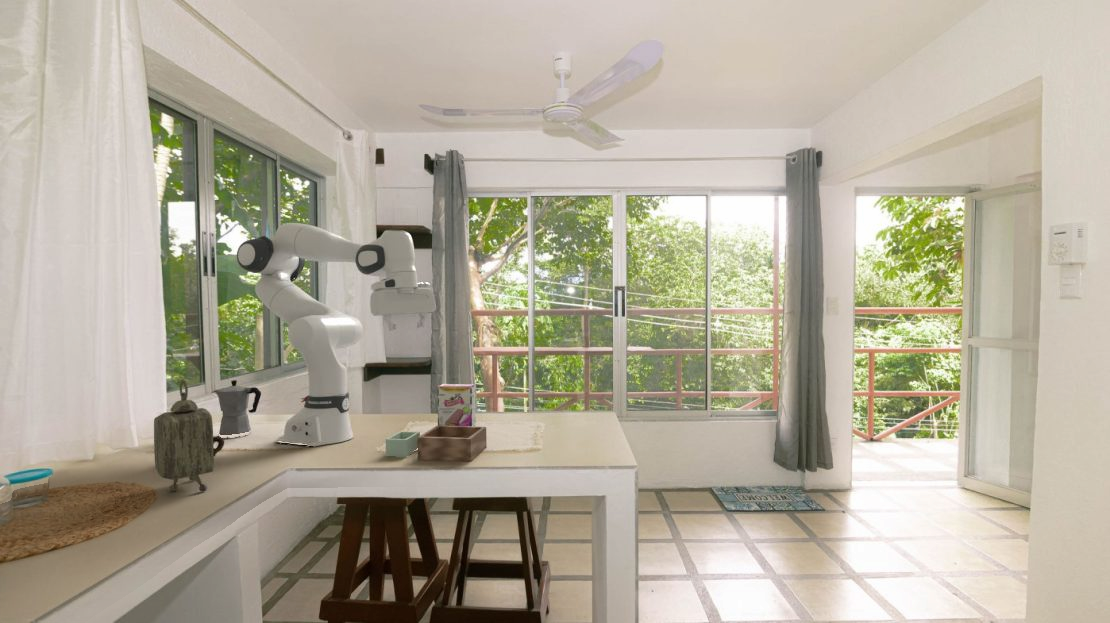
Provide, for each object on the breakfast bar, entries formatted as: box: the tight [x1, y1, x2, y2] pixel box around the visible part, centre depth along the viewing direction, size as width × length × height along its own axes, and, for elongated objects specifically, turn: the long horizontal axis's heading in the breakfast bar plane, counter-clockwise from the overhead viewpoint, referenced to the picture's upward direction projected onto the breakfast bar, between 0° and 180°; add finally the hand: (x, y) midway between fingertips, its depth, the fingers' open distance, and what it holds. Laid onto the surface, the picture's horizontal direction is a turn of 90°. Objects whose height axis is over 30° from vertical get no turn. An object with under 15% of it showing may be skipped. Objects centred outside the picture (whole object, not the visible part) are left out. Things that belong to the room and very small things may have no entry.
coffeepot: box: [213, 379, 262, 435], centre depth 172 cm, size 15×9×18 cm, turn 88°
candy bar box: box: [437, 383, 477, 427], centre depth 167 cm, size 11×5×16 cm, turn 84°
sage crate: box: [385, 430, 421, 458], centre depth 150 cm, size 6×9×5 cm, turn 170°
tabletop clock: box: [153, 379, 215, 492], centre depth 121 cm, size 14×9×25 cm, turn 45°
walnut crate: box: [417, 424, 488, 463], centre depth 148 cm, size 15×14×6 cm
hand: (406, 329), depth 158 cm, fingers open, 8 cm apart
